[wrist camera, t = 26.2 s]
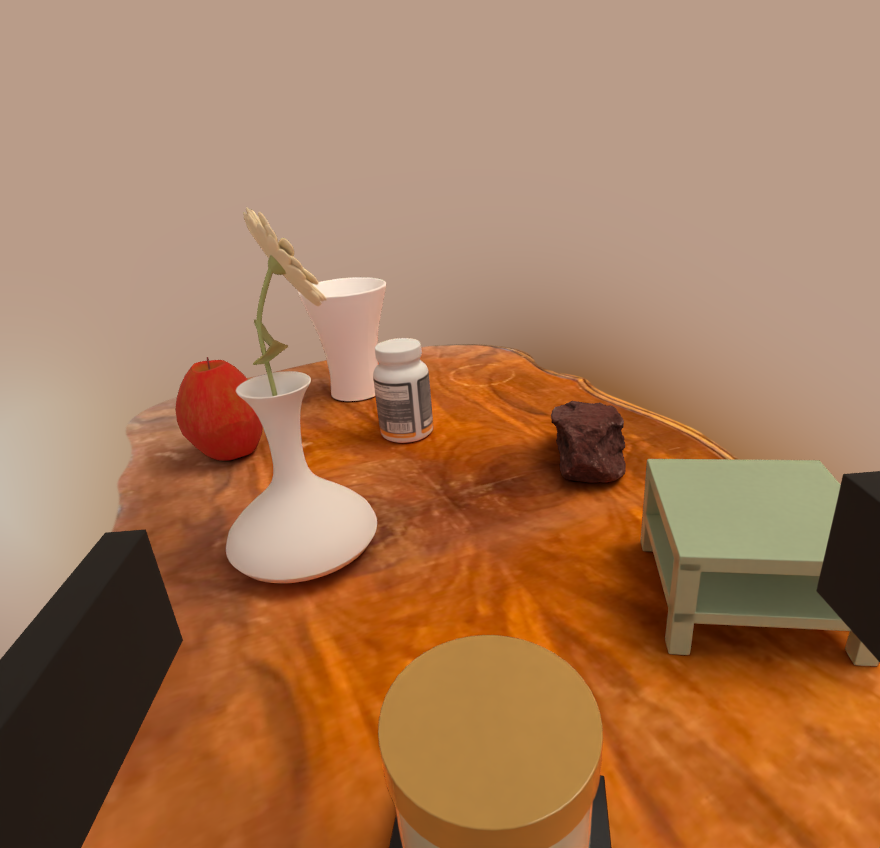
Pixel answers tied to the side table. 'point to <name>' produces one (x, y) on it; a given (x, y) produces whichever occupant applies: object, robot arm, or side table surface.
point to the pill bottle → (402, 391)
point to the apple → (217, 411)
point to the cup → (349, 333)
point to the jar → (491, 747)
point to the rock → (589, 441)
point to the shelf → (742, 545)
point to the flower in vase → (292, 462)
